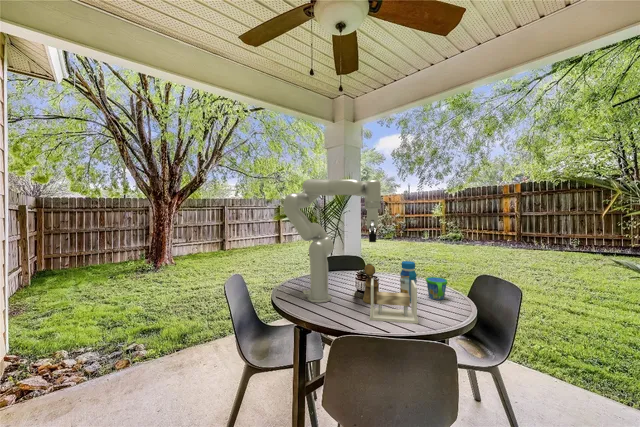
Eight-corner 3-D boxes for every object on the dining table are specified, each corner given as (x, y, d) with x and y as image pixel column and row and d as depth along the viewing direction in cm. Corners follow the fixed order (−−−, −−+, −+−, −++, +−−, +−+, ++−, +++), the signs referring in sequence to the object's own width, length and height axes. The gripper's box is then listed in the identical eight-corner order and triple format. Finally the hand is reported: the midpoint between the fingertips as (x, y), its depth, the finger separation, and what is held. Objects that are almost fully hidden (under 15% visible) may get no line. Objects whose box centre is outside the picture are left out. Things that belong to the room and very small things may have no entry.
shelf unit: (369, 320, 122) (369, 285, 121) (370, 310, 133) (370, 278, 133) (418, 323, 118) (418, 287, 117) (414, 313, 129) (414, 280, 129)
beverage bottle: (417, 303, 142) (418, 264, 142) (400, 302, 144) (400, 263, 143) (415, 298, 150) (415, 260, 150) (399, 297, 152) (399, 260, 152)
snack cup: (449, 304, 141) (450, 283, 141) (427, 302, 144) (427, 282, 144) (444, 294, 156) (444, 276, 156) (424, 293, 159) (424, 275, 159)
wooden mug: (377, 295, 155) (377, 263, 154) (382, 304, 141) (382, 268, 141) (361, 295, 155) (361, 263, 155) (364, 304, 141) (364, 268, 141)
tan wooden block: (376, 304, 124) (376, 295, 124) (376, 300, 129) (376, 291, 129) (409, 306, 122) (409, 296, 121) (408, 302, 126) (408, 293, 126)
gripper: (365, 205, 146) (365, 238, 147) (364, 205, 129) (364, 243, 130) (380, 205, 145) (380, 239, 145) (380, 205, 128) (380, 243, 128)
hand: (372, 240), depth 137 cm, fingers open, 9 cm apart
